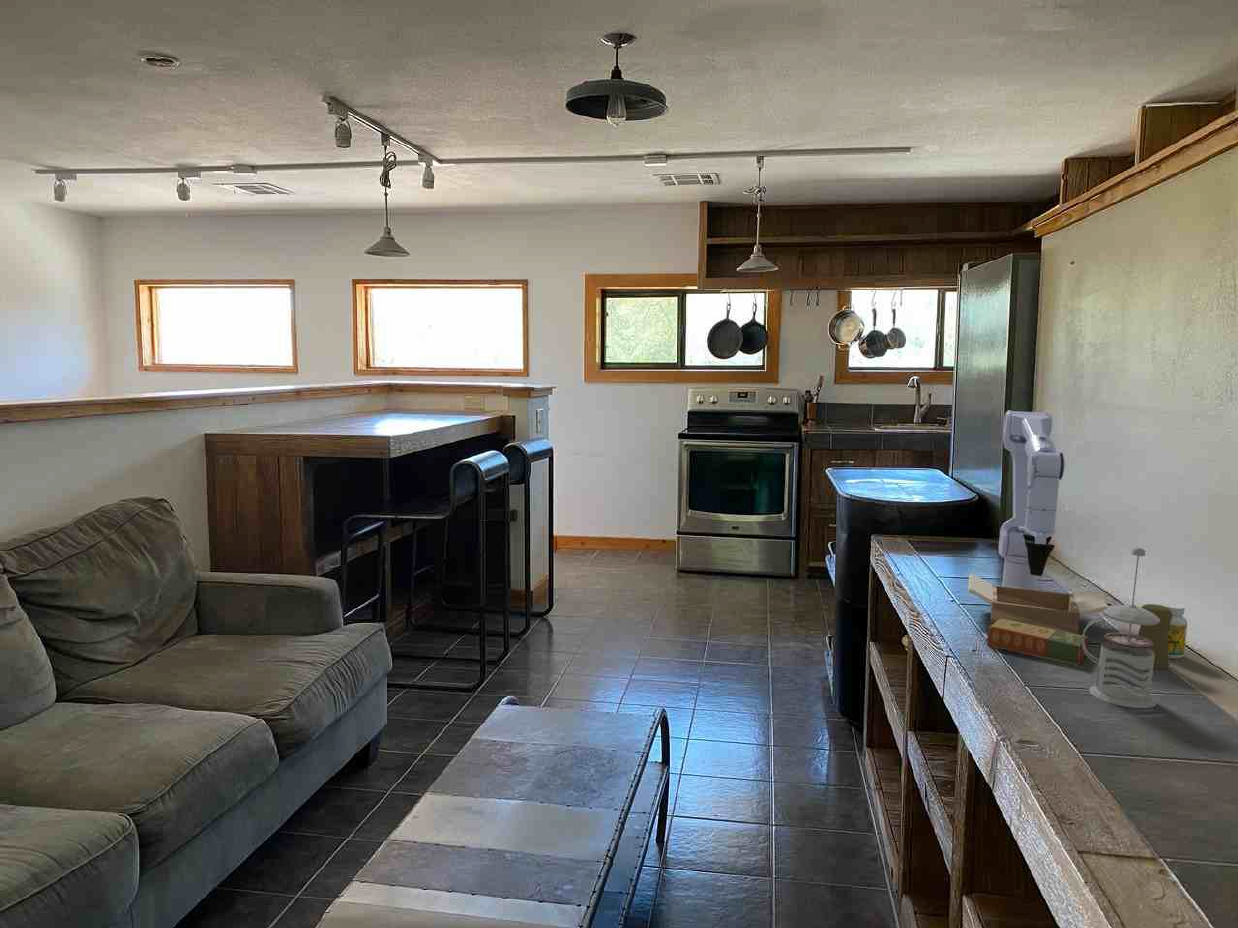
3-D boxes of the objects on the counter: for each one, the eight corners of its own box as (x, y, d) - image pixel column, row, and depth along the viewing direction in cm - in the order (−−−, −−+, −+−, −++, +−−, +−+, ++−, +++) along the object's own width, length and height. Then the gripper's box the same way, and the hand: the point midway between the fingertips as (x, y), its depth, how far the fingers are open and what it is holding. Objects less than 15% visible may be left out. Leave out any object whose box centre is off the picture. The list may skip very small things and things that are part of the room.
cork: (1155, 671, 162) (1163, 611, 160) (1123, 660, 167) (1130, 602, 165) (1176, 667, 164) (1183, 608, 163) (1144, 656, 170) (1150, 599, 168)
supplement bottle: (1184, 654, 172) (1190, 605, 171) (1182, 661, 168) (1188, 611, 167) (1152, 647, 175) (1157, 599, 174) (1148, 654, 171) (1154, 605, 170)
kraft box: (990, 606, 200) (992, 584, 200) (1070, 616, 194) (1072, 594, 194) (990, 625, 186) (993, 602, 185) (1077, 637, 180) (1080, 613, 179)
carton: (998, 637, 179) (1000, 616, 179) (1087, 656, 169) (1090, 634, 169) (986, 647, 173) (988, 625, 172) (1078, 667, 163) (1080, 644, 162)
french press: (1155, 713, 142) (1174, 557, 139) (1073, 695, 148) (1089, 546, 145) (1157, 694, 150) (1175, 547, 147) (1079, 678, 156) (1095, 537, 153)
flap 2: (1098, 589, 191) (1099, 592, 191) (1073, 594, 193) (1074, 598, 193) (1107, 606, 178) (1108, 610, 178) (1079, 612, 180) (1081, 615, 180)
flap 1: (992, 584, 199) (990, 587, 199) (971, 573, 201) (969, 576, 201) (993, 600, 185) (991, 604, 186) (970, 588, 187) (968, 591, 187)
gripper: (1019, 501, 199) (1013, 562, 201) (1022, 511, 186) (1015, 576, 187) (1054, 504, 196) (1048, 565, 198) (1060, 515, 183) (1053, 580, 185)
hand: (1035, 571), depth 192 cm, fingers open, 7 cm apart
